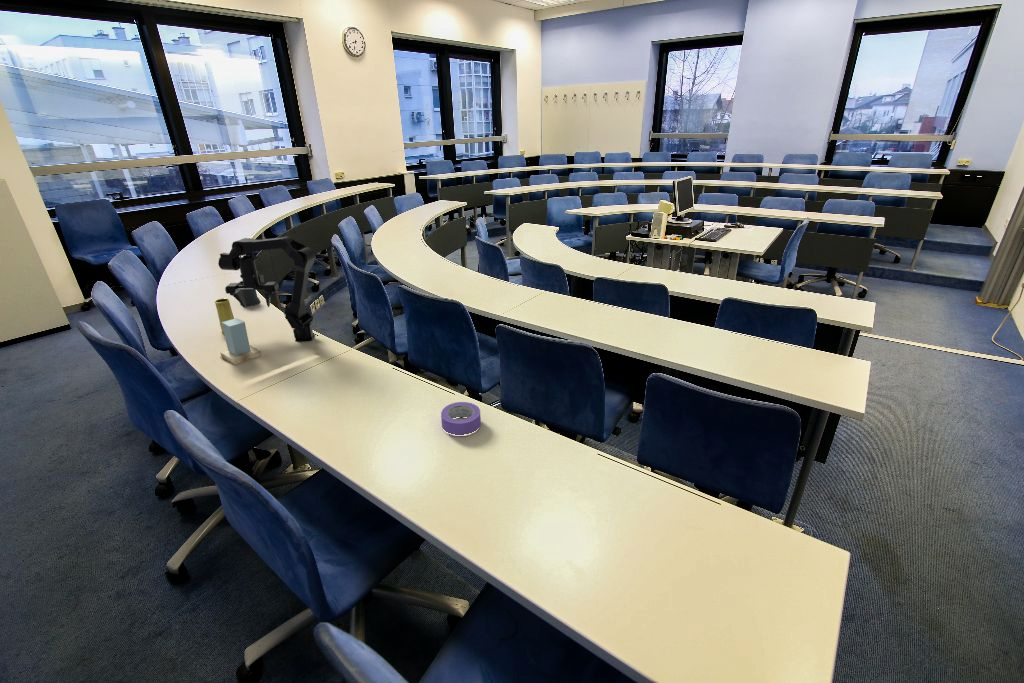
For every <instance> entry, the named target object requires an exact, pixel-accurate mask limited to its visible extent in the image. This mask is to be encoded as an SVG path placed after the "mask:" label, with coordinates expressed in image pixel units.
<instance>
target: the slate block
mask: <svg viewBox="0 0 1024 683" xmlns="http://www.w3.org/2000/svg"><path fill="white" fill-rule="evenodd" d="M222 326H223V330H224V333H223V335H224V339H225V342H226V343H225V344H226V348H227V350H228V351H229V352H230V353H232V354H234V355H236V356H237V355H240V354H242V353H245V352H248V351H251V350H250V346H251V345H250V342H249V336H248V332H247V326H246V322H245V321H244V320H241V319H239V318H238V317H236V318H235V317H234V319H232V320H228V321H225V322H222Z"/></svg>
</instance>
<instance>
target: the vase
mask: <svg viewBox="0 0 1024 683" xmlns="http://www.w3.org/2000/svg"><path fill="white" fill-rule="evenodd" d="M229 299H230V298H226V297H225V298H224V297H223V298H217V299H215V300H214V304H215V307H216V311H217V318H218V320H219V326H220V330H221V334H224V330H223V326H222V322H225V321H228V320H232V319H235V317H234V313H233V309H232V307H231V303H230V300H229Z"/></svg>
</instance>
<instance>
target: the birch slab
mask: <svg viewBox="0 0 1024 683" xmlns="http://www.w3.org/2000/svg"><path fill="white" fill-rule="evenodd" d="M250 350H251V351H248V352H245V353H242V354H240V355H237V356H236V355H234V354H232V353H230V352H229V351H228V349H227V350H224V351H221V352H220V357H222V358H224V359H226V360H227V361H229V362H231V363H233V364H234V366H236V365H235V364H237V365H239V364H238V363H240V364H242V363H241V362H243V363H245V362H246V361H249V360H252V359H254V358H257V357H260V356H262V353H261V350H260V349H258V348H256V347H254V346H253V345H250ZM222 358H221V359H222ZM227 361H226V362H227ZM244 361H245V362H244Z"/></svg>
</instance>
